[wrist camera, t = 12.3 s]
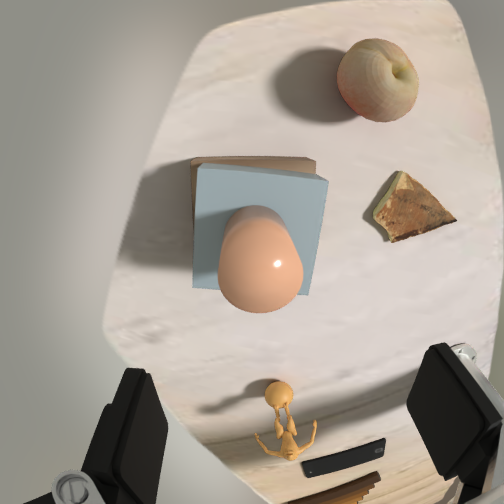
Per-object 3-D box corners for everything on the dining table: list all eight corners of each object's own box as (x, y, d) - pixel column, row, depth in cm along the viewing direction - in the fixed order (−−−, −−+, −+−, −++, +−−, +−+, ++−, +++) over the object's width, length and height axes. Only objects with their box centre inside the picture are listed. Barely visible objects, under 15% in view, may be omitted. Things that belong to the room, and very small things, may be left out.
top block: (299, 275, 31) (308, 295, 27) (197, 267, 30) (192, 287, 26) (316, 173, 27) (328, 181, 23) (203, 162, 26) (197, 168, 22)
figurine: (303, 369, 41) (320, 437, 30) (309, 394, 43) (325, 458, 32) (245, 382, 41) (249, 452, 30) (256, 407, 43) (261, 472, 32)
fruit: (407, 94, 28) (449, 89, 20) (360, 135, 29) (395, 138, 22) (362, 37, 25) (396, 16, 18) (310, 76, 27) (333, 60, 20)
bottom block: (300, 256, 35) (308, 273, 31) (201, 257, 34) (196, 275, 30) (305, 156, 31) (315, 161, 26) (196, 157, 30) (190, 161, 26)
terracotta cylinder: (286, 263, 26) (301, 310, 19) (225, 266, 25) (221, 314, 19) (287, 204, 24) (305, 235, 17) (221, 206, 23) (214, 238, 17)
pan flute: (375, 468, 58) (286, 500, 62) (379, 478, 55) (288, 510, 59) (391, 488, 67) (319, 515, 70) (394, 496, 63) (320, 523, 67)
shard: (451, 217, 34) (459, 221, 32) (419, 264, 36) (426, 270, 34) (398, 166, 31) (406, 169, 30) (362, 220, 34) (368, 225, 32)
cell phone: (382, 453, 54) (383, 456, 54) (306, 475, 55) (307, 478, 54) (385, 435, 51) (386, 439, 50) (301, 460, 52) (301, 463, 51)
